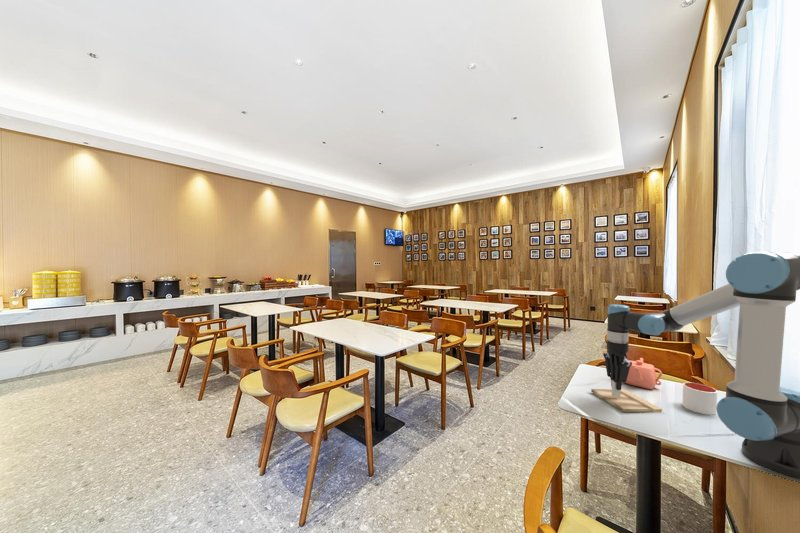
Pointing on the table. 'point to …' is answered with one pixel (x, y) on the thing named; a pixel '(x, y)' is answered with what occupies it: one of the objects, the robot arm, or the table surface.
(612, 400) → the board
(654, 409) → the pad
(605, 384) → the table surface
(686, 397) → the cup
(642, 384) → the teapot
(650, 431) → the table surface
